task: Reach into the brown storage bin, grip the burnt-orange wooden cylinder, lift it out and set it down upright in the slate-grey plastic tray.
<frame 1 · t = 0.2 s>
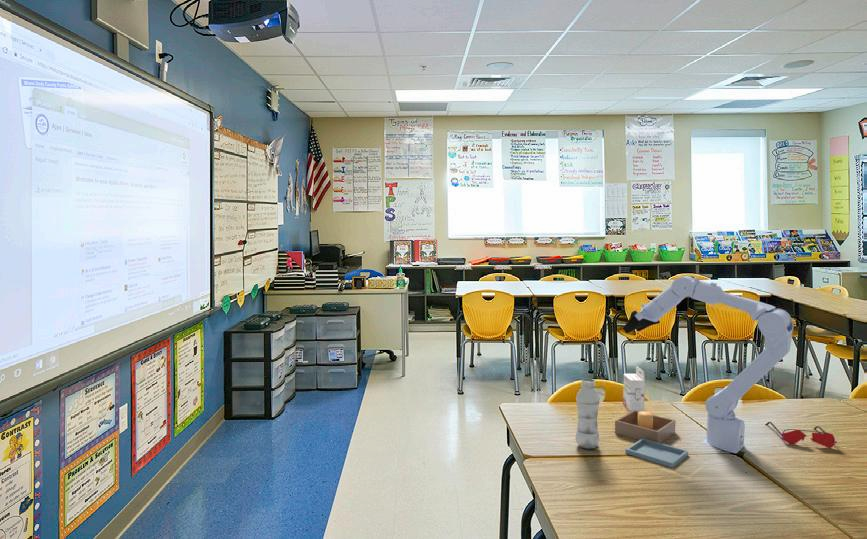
hand: (630, 330, 173), 31 cm above the table, tool tilted 45°, fingers open, 7 cm apart
ink cartridge box: (633, 409, 188), on the table
glasses: (798, 438, 163), on the table
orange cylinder: (645, 432, 164), point 1 cm above the table, touching brown storage bin
tray: (656, 456, 149), on the table
plastic bottle: (587, 447, 155), on the table
brown storage bin: (644, 434, 164), on the table
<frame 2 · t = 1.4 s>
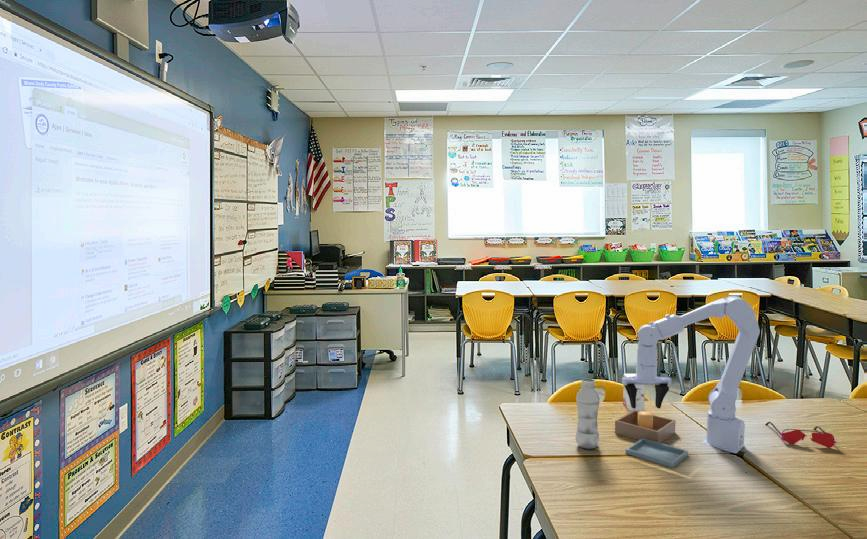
hand: (645, 407, 164), 9 cm above the table, tool pointing down, fingers open, 7 cm apart
nothing on the table moved.
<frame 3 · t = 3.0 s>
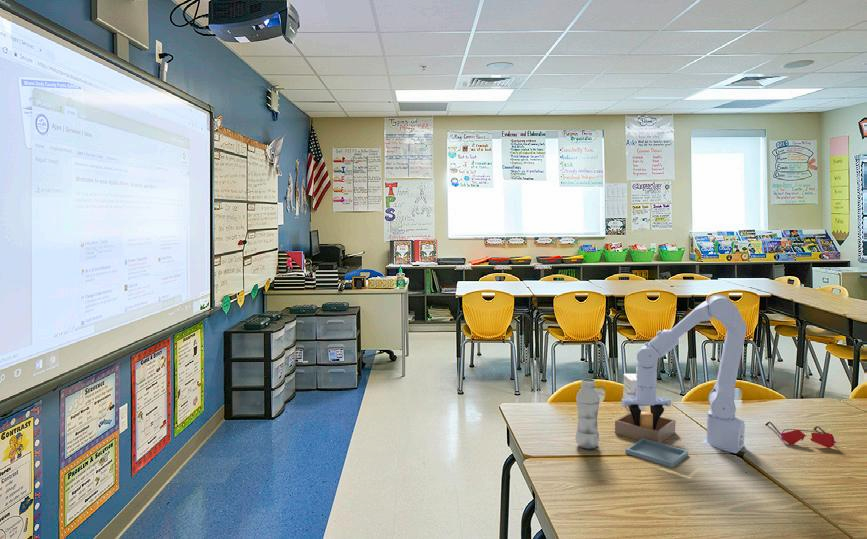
hand: (645, 428, 164), 2 cm above the table, tool pointing down, fingers closed on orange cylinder, 4 cm apart
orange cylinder: (645, 432, 164), point 1 cm above the table, touching brown storage bin, gripper
everything else where it was.
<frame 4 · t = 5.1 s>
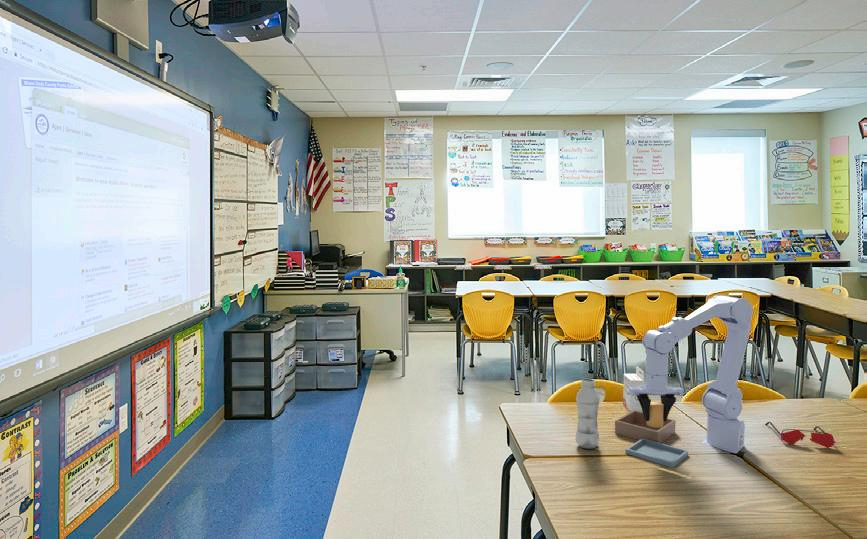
hand: (655, 420, 151), 9 cm above the table, tool pointing down, fingers closed on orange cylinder, 4 cm apart
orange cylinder: (654, 424, 151), point 8 cm above the table, touching gripper
everything else where it was.
when the fingers open (4 cm above the table, at t = 7.3 s): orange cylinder drops 1 cm, resting on tray.
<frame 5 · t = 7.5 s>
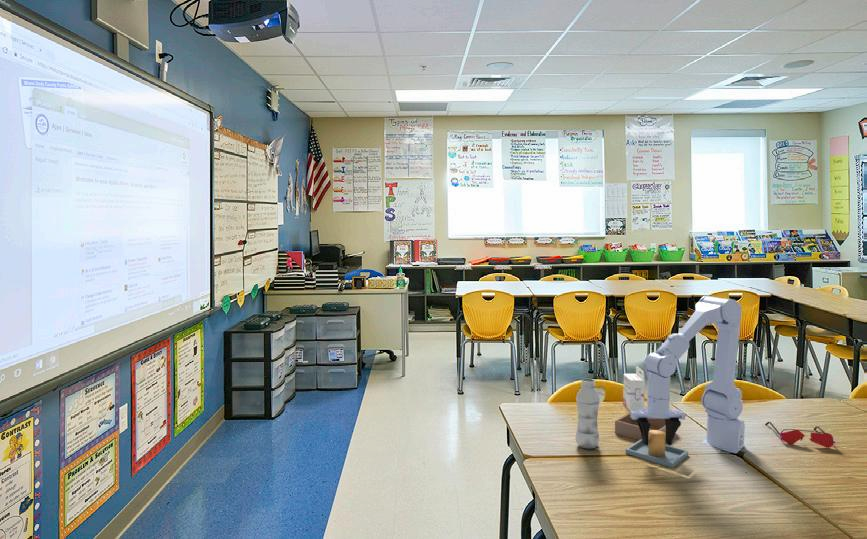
hand: (656, 443, 149), 4 cm above the table, tool pointing down, fingers open, 6 cm apart
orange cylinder: (656, 453, 149), point 1 cm above the table, touching tray
everything else where it was.
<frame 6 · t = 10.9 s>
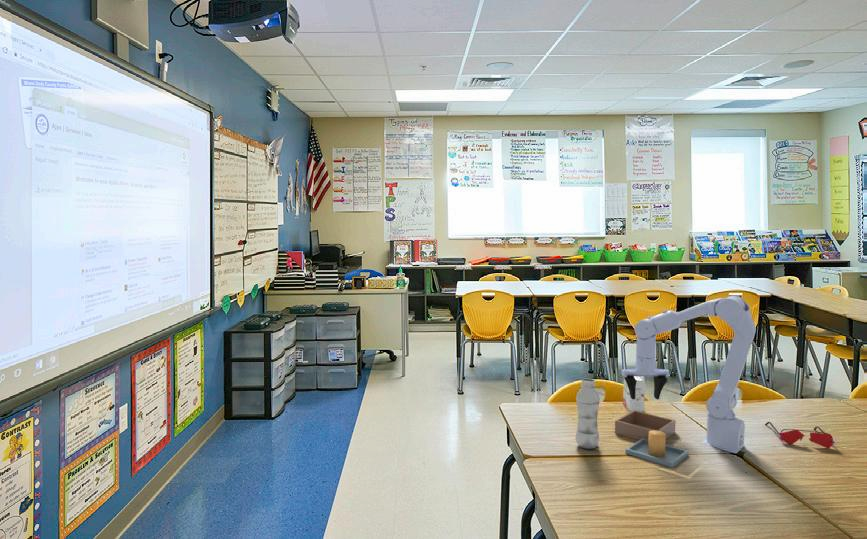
hand: (644, 398, 170), 9 cm above the table, tool pointing down, fingers open, 7 cm apart
nothing on the table moved.
at the end: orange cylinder inside the target area on the tray (0.1 cm from its centre), point 0.6 cm above the tray's base; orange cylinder tilted 0°; the gripper is holding nothing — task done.
